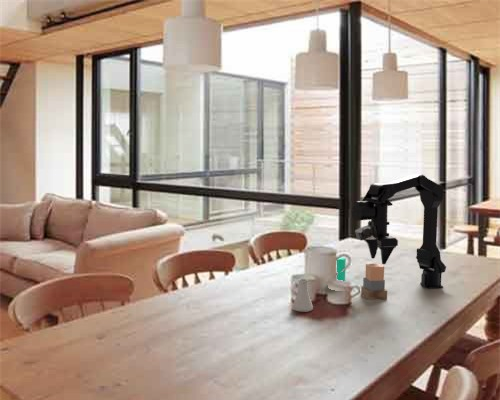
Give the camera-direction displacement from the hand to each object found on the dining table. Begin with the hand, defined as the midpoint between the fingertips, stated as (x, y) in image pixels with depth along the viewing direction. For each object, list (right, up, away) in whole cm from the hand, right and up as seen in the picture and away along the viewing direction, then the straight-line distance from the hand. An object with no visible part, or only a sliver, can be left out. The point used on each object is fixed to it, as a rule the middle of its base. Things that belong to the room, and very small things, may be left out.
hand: (378, 261), depth 197 cm
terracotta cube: (-2, -6, -2) cm, 7 cm away
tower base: (-2, -13, 0) cm, 13 cm away
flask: (-29, -15, -15) cm, 36 cm away
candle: (-12, -11, +16) cm, 23 cm away
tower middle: (-2, -10, -1) cm, 10 cm away
